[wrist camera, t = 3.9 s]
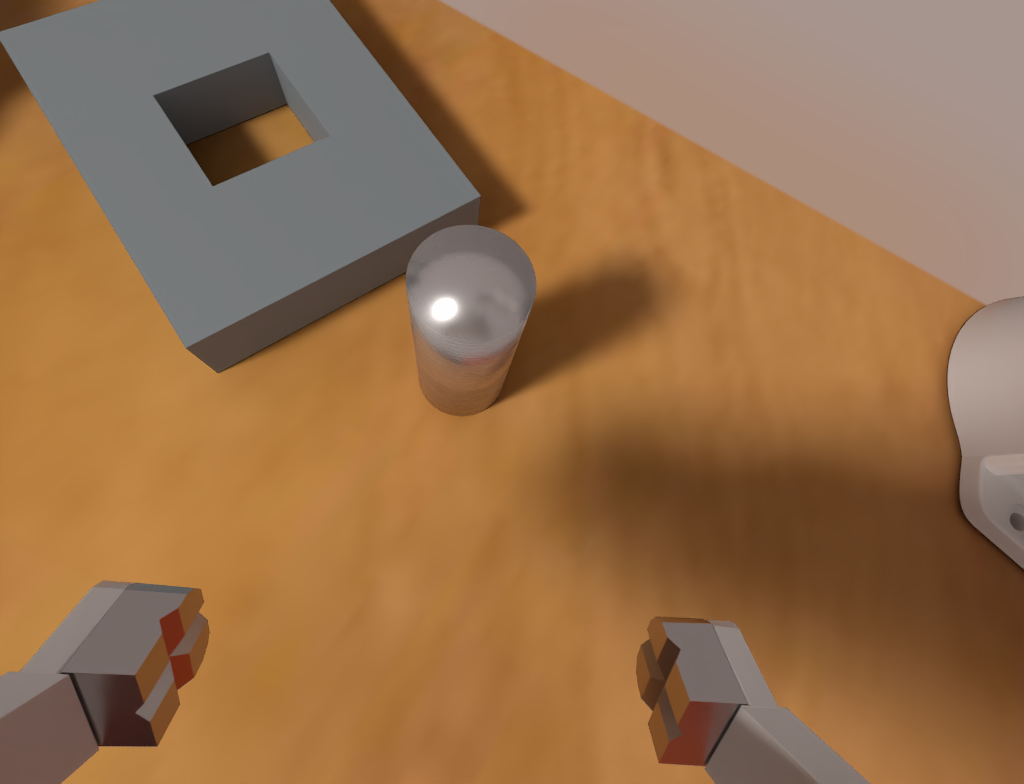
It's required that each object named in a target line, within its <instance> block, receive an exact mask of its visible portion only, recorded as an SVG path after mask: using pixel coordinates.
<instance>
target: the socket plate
mask: <svg viewBox="0 0 1024 784" xmlns="http://www.w3.org/2000/svg"><path fill="white" fill-rule="evenodd" d="M0 41H1V43H2V44H3V46H4V48H5V49H6V51H7V53H8V54H9V56H10V58H11V59H12V61H13V63H14V64H15V66H16V68H17V69H18V71H19V73H20V74H21V76H22V78H23V79H24V81H25V82H26V84H27V86H28V87H29V89H30V91H31V92H32V94H33V96H34V97H35V99H36V101H37V102H38V104H39V106H40V107H41V109H42V111H43V112H44V114H45V116H46V117H47V119H48V121H49V122H50V124H51V126H52V127H53V129H54V131H55V132H56V134H57V136H58V137H59V139H60V141H61V142H62V144H63V145H64V147H65V149H66V150H67V152H68V154H69V155H70V157H71V159H72V160H73V162H74V164H75V165H76V167H77V169H78V170H79V172H80V174H81V175H82V177H83V179H84V180H85V182H86V184H87V185H88V187H89V189H90V190H91V192H92V194H93V195H94V197H95V199H96V200H97V202H98V203H99V205H100V207H101V208H102V210H103V212H104V213H105V215H106V217H107V218H108V220H109V222H110V223H111V225H112V227H113V228H114V230H115V232H116V233H117V235H118V237H119V238H120V240H121V242H122V243H123V245H124V247H125V248H126V250H127V252H128V253H129V255H130V257H131V258H132V260H133V262H134V263H135V265H136V266H137V268H138V270H139V271H140V273H141V275H142V276H143V278H144V280H145V281H146V283H147V285H148V286H149V288H150V290H151V291H152V293H153V295H154V296H155V298H156V300H157V301H158V303H159V305H160V306H161V308H162V310H163V311H164V313H165V315H166V316H167V318H168V320H169V321H170V323H171V324H172V326H173V328H174V329H175V331H176V333H177V334H178V336H179V338H180V339H181V341H182V343H183V344H184V346H185V348H186V349H188V350H189V351H190V352H191V353H193V354H194V355H195V356H197V357H198V358H199V359H200V360H202V361H203V362H204V363H206V364H207V365H208V366H209V367H211V368H212V369H213V370H215V371H216V372H217V373H219V372H221V371H223V370H224V369H226V368H228V367H230V366H232V365H234V364H236V363H237V362H239V361H241V360H243V359H245V358H247V357H249V356H250V355H252V354H254V353H256V352H258V351H260V350H262V349H263V348H265V347H267V346H269V345H271V344H273V343H275V342H276V341H278V340H280V339H282V338H284V337H286V336H288V335H289V334H291V333H293V332H295V331H297V330H299V329H301V328H302V327H304V326H306V325H308V324H310V323H312V322H314V321H315V320H317V319H319V318H321V317H323V316H325V315H327V314H328V313H330V312H332V311H334V310H336V309H338V308H340V307H341V306H343V305H345V304H347V303H349V302H351V301H353V300H354V299H356V298H358V297H360V296H362V295H364V294H366V293H367V292H369V291H371V290H373V289H375V288H377V287H379V286H380V285H382V284H384V283H386V282H388V281H390V280H392V279H393V278H395V277H397V276H399V275H401V274H403V273H405V272H406V271H407V267H408V264H409V261H410V259H411V257H412V255H413V253H414V252H415V250H416V249H417V247H418V246H419V245H420V244H421V243H422V242H423V241H424V240H425V239H427V238H428V237H429V236H431V235H432V234H434V233H436V232H438V231H440V230H442V229H445V228H448V227H452V226H457V225H478V218H479V209H480V200H481V195H480V194H479V193H478V191H477V190H476V189H475V188H474V186H473V185H472V184H471V182H470V181H469V180H468V179H467V177H466V176H465V175H464V173H463V172H462V171H461V170H460V168H459V167H458V166H457V164H456V163H455V162H454V160H453V159H452V158H451V157H450V155H449V154H448V153H447V151H446V150H445V149H444V148H443V146H442V145H441V144H440V142H439V141H438V140H437V139H436V137H435V136H434V135H433V133H432V132H431V131H430V129H429V128H428V127H427V126H426V124H425V123H424V122H423V120H422V119H421V118H420V117H419V115H418V114H417V113H416V111H415V110H414V109H413V108H412V106H411V105H410V104H409V102H408V101H407V100H406V98H405V97H404V96H403V95H402V93H401V92H400V91H399V89H398V88H397V87H396V86H395V84H394V83H393V82H392V80H391V79H390V78H389V77H388V75H387V74H386V73H385V71H384V70H383V69H382V67H381V66H380V65H379V64H378V62H377V61H376V60H375V58H374V57H373V56H372V55H371V53H370V52H369V51H368V49H367V48H366V47H365V46H364V44H363V43H362V42H361V40H360V39H359V38H358V36H357V35H356V34H355V33H354V31H353V30H352V29H351V27H350V26H349V25H348V24H347V22H346V21H345V20H344V18H343V17H342V16H341V15H340V13H339V12H338V11H337V9H336V8H335V7H334V5H333V4H332V3H331V2H330V0H100V1H97V2H93V3H90V4H87V5H84V6H81V7H77V8H74V9H71V10H68V11H65V12H61V13H58V14H55V15H52V16H49V17H45V18H42V19H39V20H36V21H33V22H29V23H26V24H23V25H20V26H17V27H13V28H10V29H7V30H4V31H1V32H0ZM286 104H288V106H289V107H290V108H291V110H292V111H293V113H294V114H295V115H296V117H297V118H298V120H299V121H300V122H301V124H302V125H303V127H304V128H305V129H306V131H307V132H308V134H309V135H310V136H311V138H312V139H313V141H314V143H312V144H310V145H307V146H305V147H303V148H300V149H298V150H296V151H293V152H291V153H289V154H287V155H284V156H282V157H280V158H277V159H275V160H273V161H270V162H268V163H266V164H264V165H261V166H259V167H257V168H254V169H252V170H250V171H247V172H245V173H243V174H241V175H238V176H236V177H234V178H231V179H229V180H227V181H224V182H222V183H220V184H217V185H215V186H212V184H211V183H210V181H209V180H208V178H207V177H206V175H205V174H204V172H203V171H202V169H201V168H200V166H199V165H198V163H197V162H196V160H195V159H194V157H193V155H192V154H191V152H190V151H189V149H188V148H187V146H186V145H187V144H189V143H192V142H194V141H197V140H199V139H202V138H204V137H207V136H209V135H212V134H214V133H217V132H219V131H221V130H224V129H226V128H229V127H231V126H234V125H236V124H239V123H241V122H244V121H246V120H249V119H251V118H254V117H256V116H258V115H261V114H263V113H266V112H268V111H271V110H273V109H276V108H278V107H281V106H283V105H286Z"/></svg>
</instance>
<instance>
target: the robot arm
mask: <svg viewBox="0 0 1024 784" xmlns="http://www.w3.org/2000/svg"><path fill="white" fill-rule="evenodd" d="M947 379H948V396H949V403H950V408H951V413H952V417H953V420H954V424H955V427H956V431H957V434H958V438H959V442H960V446H961V452H962V463H961V473H960V489H959V491H960V503H961V507H962V510H963V512H964V514H965V516H966V518H967V519H968V520H969V522H970V523H971V524H972V525H973V526H974V527H975V528H977V529H978V530H979V531H980V532H981V533H982V534H984V535H985V536H986V537H987V538H988V539H989V540H990V541H992V542H993V543H994V544H995V545H996V546H997V547H999V548H1000V549H1001V550H1002V551H1003V552H1004V553H1006V554H1007V555H1008V556H1009V557H1010V558H1011V559H1012V560H1014V561H1015V562H1016V563H1017V564H1018V565H1019V566H1021V567H1022V568H1023V569H1024V296H1023V297H1016V298H1010V299H1004V300H1001V301H997V302H994V303H992V304H990V305H988V306H985V307H984V308H982V309H981V310H979V311H978V312H976V313H975V314H974V315H973V316H972V317H971V318H970V319H969V320H968V321H967V322H966V323H965V324H964V326H963V327H962V329H961V330H960V332H959V334H958V335H957V337H956V340H955V342H954V344H953V347H952V350H951V354H950V359H949V365H948V378H947ZM203 603H204V599H203V596H202V592H201V589H197V588H187V587H176V586H165V585H154V584H143V583H130V582H117V581H102V582H100V583H99V584H97V585H95V586H94V587H92V588H91V589H90V590H89V591H88V592H87V594H86V595H85V596H84V597H83V598H82V599H81V601H80V602H79V603H78V604H77V605H76V606H75V608H74V609H73V610H72V611H71V612H70V613H69V615H68V616H67V617H66V618H65V619H64V620H63V622H62V623H61V624H60V625H59V626H58V627H57V629H56V630H55V631H54V632H53V633H52V634H51V636H50V637H49V638H48V639H47V640H46V641H45V643H44V644H43V645H42V646H41V647H40V648H39V650H38V651H37V652H36V653H35V654H34V655H33V657H32V658H31V659H30V660H29V661H28V662H27V664H26V665H25V666H24V667H23V668H22V669H21V671H20V672H7V673H6V674H4V675H2V676H0V784H61V783H62V782H63V781H64V780H65V779H66V778H67V777H69V776H70V775H71V774H72V773H73V772H74V771H76V770H77V769H78V768H79V767H80V766H81V765H82V764H84V763H85V762H86V761H87V760H88V759H89V758H90V757H92V756H93V755H94V754H95V753H96V752H97V751H98V750H99V747H98V746H138V747H157V746H158V745H159V743H160V741H161V739H162V737H163V735H164V733H165V731H166V730H167V728H168V726H169V724H170V722H171V720H172V718H173V717H174V715H175V713H176V711H177V709H178V707H179V705H180V701H179V696H178V691H177V690H178V689H180V688H181V687H182V686H184V685H185V684H186V683H188V682H189V681H190V680H192V679H193V678H194V677H195V675H196V673H197V671H198V669H199V667H200V665H201V663H202V661H203V658H204V655H205V652H206V648H207V645H208V640H209V625H208V620H207V619H206V618H205V617H204V616H203V615H202V614H200V613H199V610H200V608H201V607H202V605H203ZM647 630H648V633H649V637H650V639H649V640H647V641H646V642H644V643H643V644H642V645H641V646H640V649H639V652H638V655H637V665H636V674H637V682H638V687H639V691H640V695H641V699H642V700H643V701H644V702H645V703H646V704H647V705H648V706H649V708H650V709H651V710H652V711H653V712H652V714H651V717H650V720H649V722H648V726H649V729H650V733H651V736H652V740H653V744H654V747H655V751H656V755H657V758H658V762H659V763H663V764H678V765H694V766H706V767H705V770H706V772H707V773H708V774H709V776H710V777H711V778H712V779H713V781H714V782H715V783H716V784H870V783H869V782H868V781H867V780H866V779H865V778H864V777H863V776H861V775H860V774H859V773H858V772H857V771H856V770H855V769H854V768H853V767H852V766H850V765H849V764H848V763H847V762H846V761H845V760H844V759H843V758H842V757H840V756H839V755H838V754H837V753H836V752H835V751H834V750H833V749H832V748H831V747H829V746H828V745H827V744H826V743H825V742H824V741H823V740H822V739H821V738H819V737H818V736H817V735H816V734H815V733H814V732H813V731H812V730H811V729H810V728H808V727H807V726H806V725H805V724H804V723H803V722H802V721H801V720H800V719H799V718H797V717H796V716H795V715H794V714H793V713H792V712H791V711H790V710H789V709H787V708H786V707H778V705H777V703H776V701H775V699H774V697H773V695H772V693H771V691H770V689H769V687H768V685H767V683H766V681H765V679H764V677H763V675H762V673H761V671H760V669H759V667H758V665H757V663H756V661H755V659H754V657H753V655H752V653H751V651H750V649H749V647H748V646H747V644H746V642H745V640H744V638H743V636H742V634H741V632H740V630H739V628H738V626H737V625H736V624H735V623H734V622H733V621H720V620H704V619H696V618H676V617H654V618H653V619H652V620H651V621H650V624H649V626H648V629H647Z"/></svg>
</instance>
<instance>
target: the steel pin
mask: <svg viewBox="0 0 1024 784" xmlns="http://www.w3.org/2000/svg"><path fill="white" fill-rule="evenodd" d="M406 288H407V296H408V303H409V310H410V317H411V325H412V332H413V339H414V346H415V353H416V361H417V368H418V375H419V382H420V386H421V389H422V392H423V394H424V395H425V397H426V399H427V400H428V401H429V402H430V403H431V404H432V405H433V406H434V407H436V408H437V409H438V410H440V411H442V412H444V413H447V414H450V415H454V416H469V415H474V414H477V413H479V412H482V411H483V410H485V409H487V408H488V407H489V406H491V405H492V404H493V403H494V401H495V400H496V399H497V397H498V396H499V394H500V392H501V389H502V387H503V384H504V381H505V378H506V376H507V373H508V370H509V368H510V365H511V362H512V359H513V357H514V354H515V351H516V349H517V346H518V343H519V341H520V338H521V335H522V332H523V330H524V327H525V324H526V322H527V319H528V316H529V314H530V311H531V308H532V305H533V303H534V299H535V295H536V277H535V272H534V269H533V266H532V264H531V262H530V260H529V258H528V256H527V255H526V253H525V252H524V251H523V249H522V248H521V247H520V246H519V245H518V244H517V243H516V242H515V241H513V240H512V239H511V238H509V237H508V236H506V235H505V234H503V233H501V232H499V231H497V230H494V229H492V228H488V227H484V226H479V225H457V226H452V227H448V228H445V229H442V230H440V231H438V232H436V233H434V234H432V235H431V236H429V237H428V238H427V239H425V240H424V241H423V242H422V243H421V244H420V245H419V246H418V247H417V249H416V250H415V252H414V253H413V255H412V257H411V259H410V261H409V264H408V267H407V272H406Z"/></svg>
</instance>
